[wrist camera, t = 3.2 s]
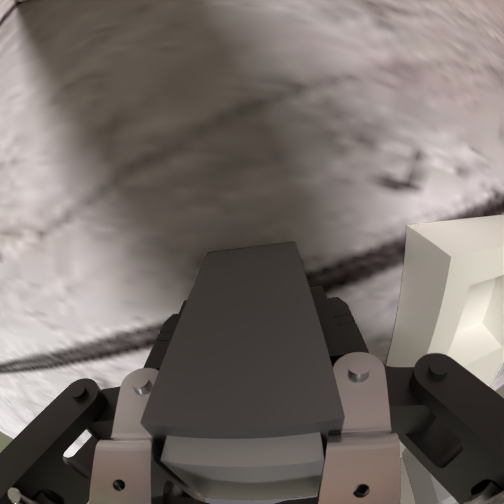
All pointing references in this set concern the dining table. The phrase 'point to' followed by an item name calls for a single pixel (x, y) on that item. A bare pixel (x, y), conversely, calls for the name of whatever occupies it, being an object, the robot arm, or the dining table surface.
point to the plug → (247, 381)
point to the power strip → (450, 311)
